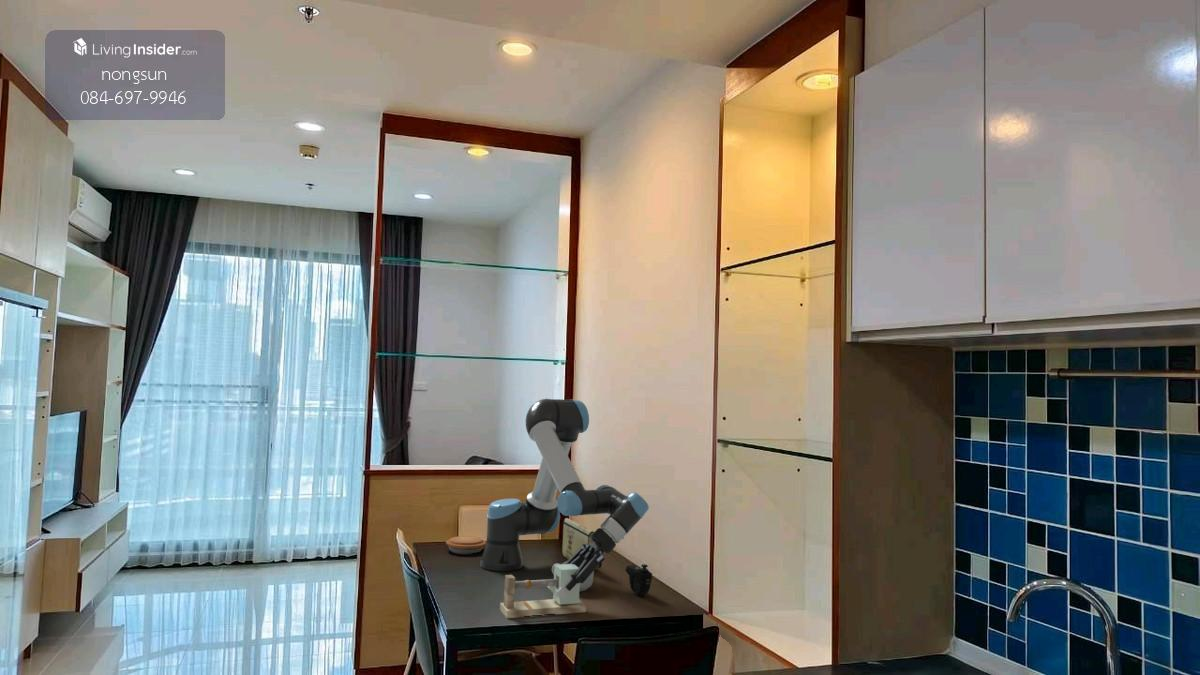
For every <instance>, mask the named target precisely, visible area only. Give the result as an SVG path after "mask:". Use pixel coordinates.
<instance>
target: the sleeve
mask: <svg viewBox="0 0 1200 675" xmlns="http://www.w3.org/2000/svg"><path fill="white" fill-rule="evenodd" d="M578 568H579V567H577V566H576V565H574V564H562V563H561V565H555V569H554V575H553V579H559V586H554V589H553V592H552V594H553V595H552V599H554V600H555V601H556V602H557V603H558V604H559V605H562V604H576V603H579V600H580V591H579V589H580V583H577V584H576V585H575V586H574V588H573V589H572V590H571V591H570V592H569V593H568V594H567V595H566V596H565V597H564V598H563V600H561V599H560V598H559V597H558V596H557V595H556V594H555V593H556V592H557V591H558V590H559V589H560V587H561V586H562V585H563V584H564V583H565V582H566V581H567V580H568V579H569V578H570V577H571V575H574V574H575V573H576V571H577V570H578Z"/></svg>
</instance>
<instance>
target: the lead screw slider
mask: <svg viewBox="0 0 1200 675" xmlns="http://www.w3.org/2000/svg"><path fill="white" fill-rule="evenodd" d="M550 586H559V579H554V578H550V579H548V578H546V579H536V580H535V579H533V580H531V579H525V580H516V577H515V576H514V575H513V574H505V575H504V592H503V602H499V611H500V612H501V613H502V615H503V616H504V617H505V618H506V619H514V618H515V619H516V618H525V617H524V616H530V617H533V616H532V615H542V616H547V615H546V614H555V615H564V614H565V615H568V614H579V613H587V604H585V602H583V601H582V600H581V599H579V603H576V604H562V605H559V604H558V603H557V602H556V601H555V600H554V599H553V598H550V599H549V598H548V599H538V600H536V599H535V600H521V601H515V590H516V589H517V590H518V589H525V590H526V589H528V590H529V589H532V588H545V587H547V588H548V587H550ZM544 614H545V615H544Z"/></svg>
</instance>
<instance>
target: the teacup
mask: <svg viewBox="0 0 1200 675" xmlns="http://www.w3.org/2000/svg"><path fill="white" fill-rule="evenodd" d="M567 561H568V560H567ZM567 561H564V562H563V563H554V564H553V565H552V567H551V572H552V574H553V576H554V569H555V565H562V564H565V563H566V562H567ZM594 573H595V570H594V571H593V572H592V573H591V574H590V576H589V577H588V578H587V579H586V580H585V581H584V583H581V582H580V589H579V592H585V591H586V590H588V589H589V588H590V587H591V586H592V585H593V583H594Z"/></svg>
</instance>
